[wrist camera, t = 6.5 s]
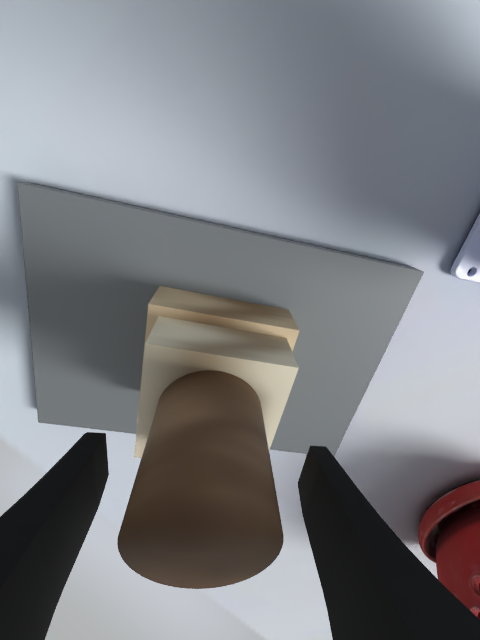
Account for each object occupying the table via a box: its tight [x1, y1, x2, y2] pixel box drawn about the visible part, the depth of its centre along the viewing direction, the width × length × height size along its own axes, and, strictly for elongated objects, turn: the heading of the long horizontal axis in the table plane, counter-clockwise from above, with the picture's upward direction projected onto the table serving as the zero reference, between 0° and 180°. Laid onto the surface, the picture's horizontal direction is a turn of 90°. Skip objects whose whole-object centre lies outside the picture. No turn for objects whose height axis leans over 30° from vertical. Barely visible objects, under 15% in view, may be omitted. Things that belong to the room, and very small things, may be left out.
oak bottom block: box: [137, 286, 300, 423], centre depth 16 cm, size 7×7×2 cm
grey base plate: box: [18, 183, 424, 456], centre depth 17 cm, size 20×14×1 cm
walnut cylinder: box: [118, 370, 283, 589], centre depth 10 cm, size 4×4×5 cm
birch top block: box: [134, 316, 299, 458], centre depth 14 cm, size 6×6×2 cm
